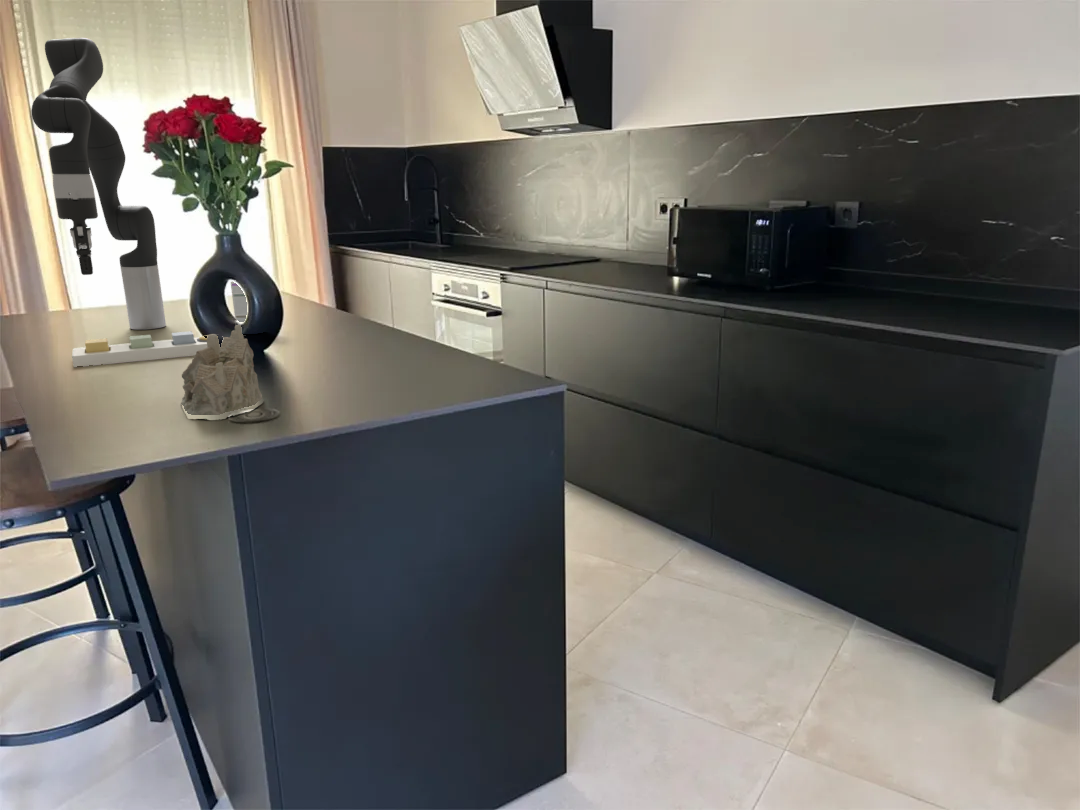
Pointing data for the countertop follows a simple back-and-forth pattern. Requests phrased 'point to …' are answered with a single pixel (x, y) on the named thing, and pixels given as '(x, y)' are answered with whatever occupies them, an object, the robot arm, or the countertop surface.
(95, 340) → the ochre button
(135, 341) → the sage button
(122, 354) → the button panel
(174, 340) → the slate button
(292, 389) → the countertop surface
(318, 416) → the countertop surface
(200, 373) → the ceramic cottage
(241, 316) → the syrup box
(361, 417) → the countertop surface
